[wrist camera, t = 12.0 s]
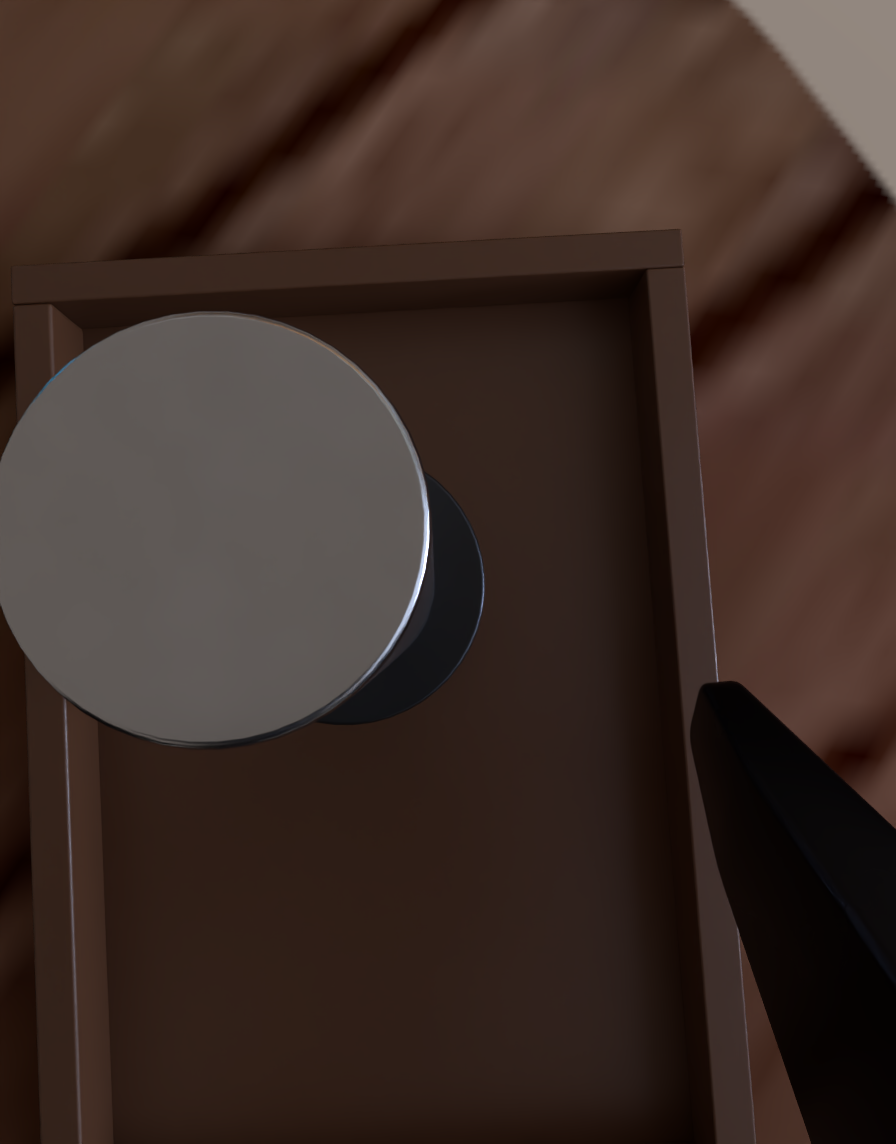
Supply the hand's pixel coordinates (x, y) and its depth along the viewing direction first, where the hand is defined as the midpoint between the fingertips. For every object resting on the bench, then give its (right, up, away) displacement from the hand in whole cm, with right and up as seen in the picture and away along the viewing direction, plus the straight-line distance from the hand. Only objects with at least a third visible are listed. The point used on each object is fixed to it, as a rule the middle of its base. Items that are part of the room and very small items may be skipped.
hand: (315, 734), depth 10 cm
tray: (0, -1, +9) cm, 9 cm away
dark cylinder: (0, +1, +8) cm, 9 cm away
